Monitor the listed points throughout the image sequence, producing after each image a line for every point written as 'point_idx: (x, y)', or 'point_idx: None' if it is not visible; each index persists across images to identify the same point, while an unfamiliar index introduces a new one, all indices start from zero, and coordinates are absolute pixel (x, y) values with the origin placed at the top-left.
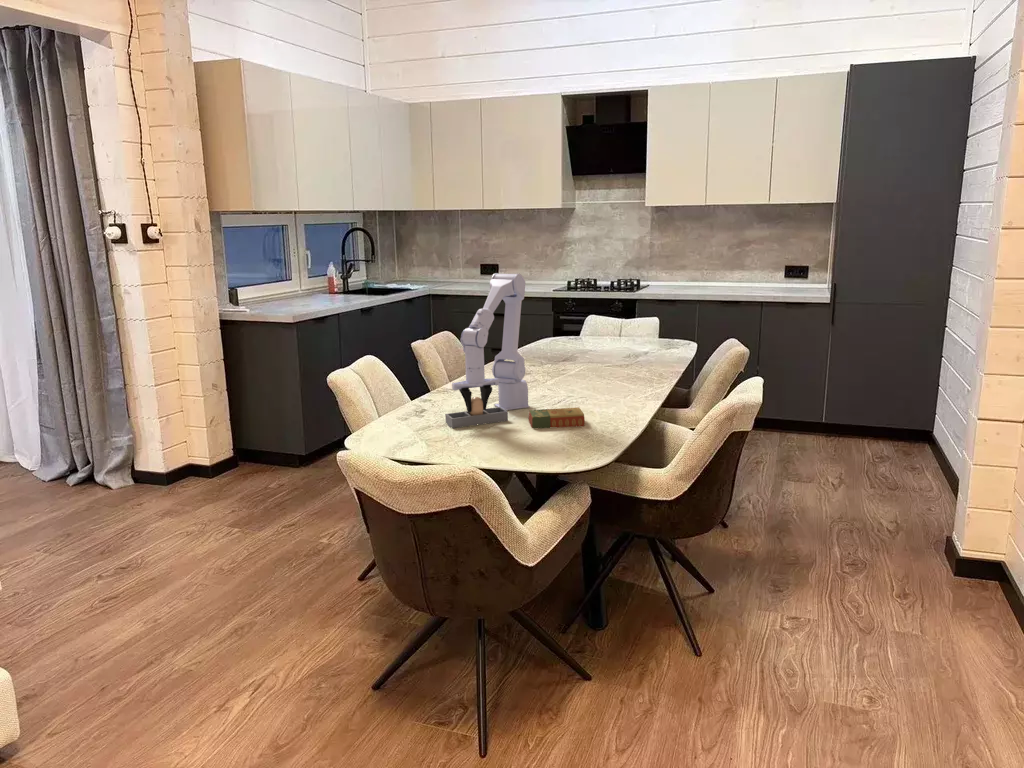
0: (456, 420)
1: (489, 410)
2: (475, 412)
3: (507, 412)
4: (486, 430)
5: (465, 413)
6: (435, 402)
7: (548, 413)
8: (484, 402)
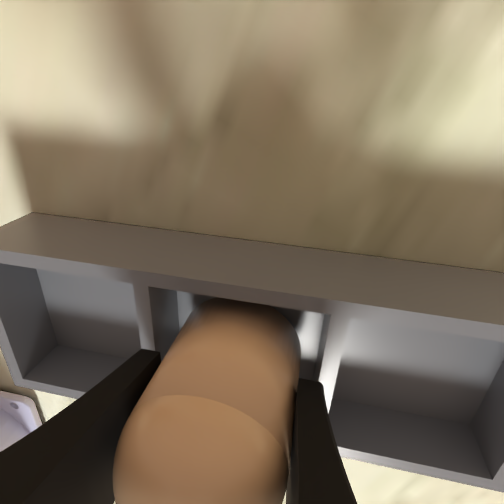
0: None
1: None
2: (265, 343)
3: None
4: (289, 19)
5: (328, 411)
6: None
7: None
8: (106, 413)
